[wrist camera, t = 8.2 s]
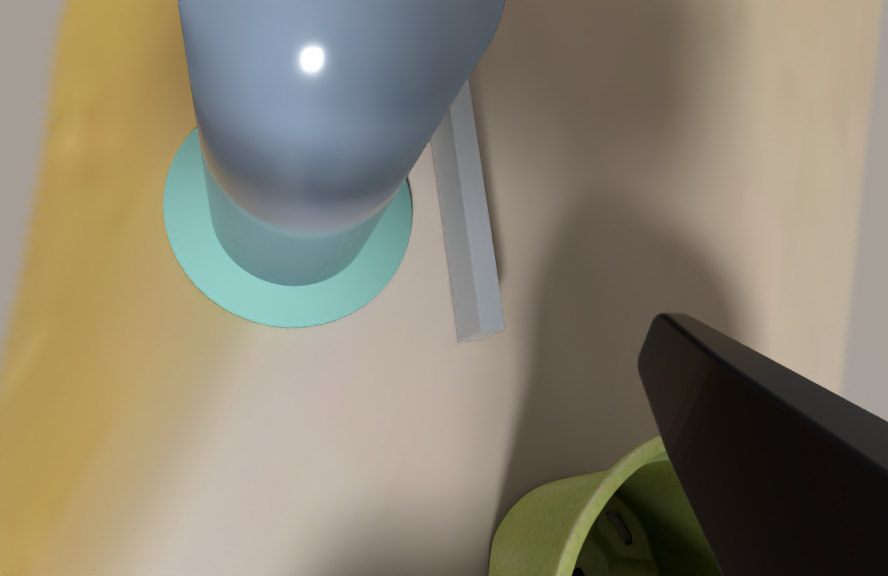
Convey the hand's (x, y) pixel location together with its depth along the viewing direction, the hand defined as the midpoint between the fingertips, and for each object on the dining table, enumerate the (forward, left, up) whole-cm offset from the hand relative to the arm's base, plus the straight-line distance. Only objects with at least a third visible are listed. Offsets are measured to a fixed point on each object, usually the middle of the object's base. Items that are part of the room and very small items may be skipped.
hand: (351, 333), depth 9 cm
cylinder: (+6, -1, -13) cm, 15 cm away
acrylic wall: (+7, -6, -14) cm, 16 cm away
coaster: (+6, -1, -14) cm, 15 cm away
